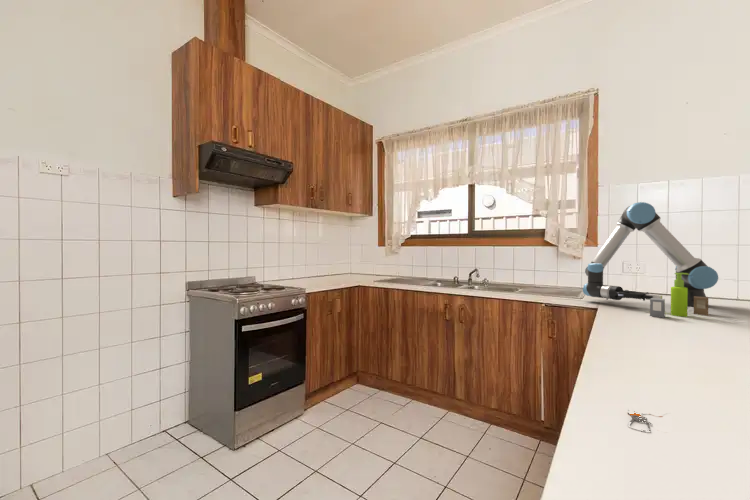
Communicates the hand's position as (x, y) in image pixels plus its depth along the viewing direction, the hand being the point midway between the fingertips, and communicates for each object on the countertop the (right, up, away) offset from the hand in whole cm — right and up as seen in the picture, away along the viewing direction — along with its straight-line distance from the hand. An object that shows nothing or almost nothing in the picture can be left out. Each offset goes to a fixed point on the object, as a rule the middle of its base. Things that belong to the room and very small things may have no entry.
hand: (661, 298), depth 170 cm
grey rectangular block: (-9, -7, -9) cm, 15 cm away
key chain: (-88, -9, -104) cm, 137 cm away
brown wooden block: (+16, -7, -4) cm, 18 cm away
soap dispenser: (+3, -7, -7) cm, 10 cm away
